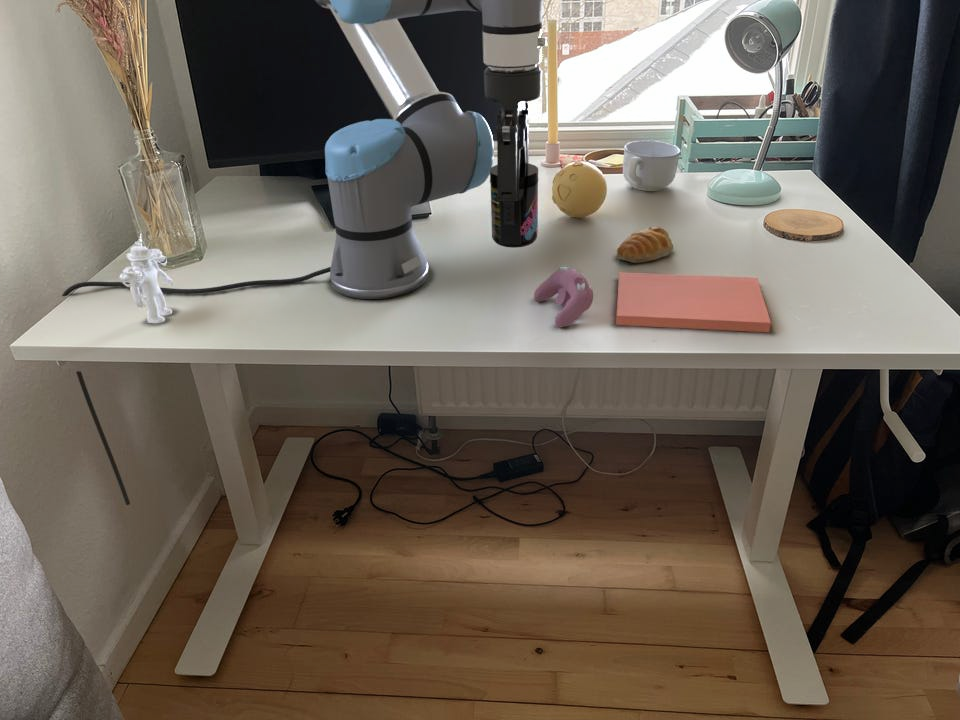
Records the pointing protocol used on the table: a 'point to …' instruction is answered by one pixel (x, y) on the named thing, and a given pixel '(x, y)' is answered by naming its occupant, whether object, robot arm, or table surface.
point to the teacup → (650, 164)
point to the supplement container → (528, 205)
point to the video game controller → (566, 294)
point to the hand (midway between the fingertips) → (514, 233)
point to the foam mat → (691, 302)
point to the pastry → (646, 245)
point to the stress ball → (579, 189)
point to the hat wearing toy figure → (147, 281)
